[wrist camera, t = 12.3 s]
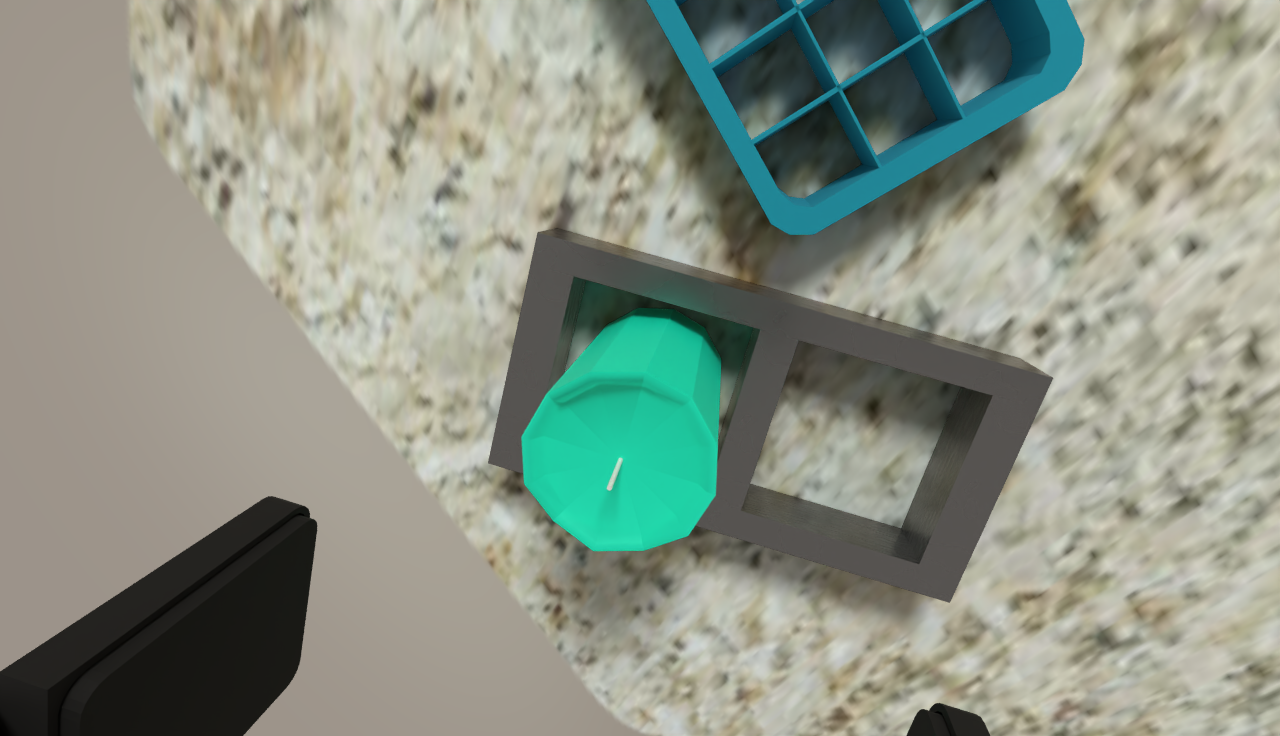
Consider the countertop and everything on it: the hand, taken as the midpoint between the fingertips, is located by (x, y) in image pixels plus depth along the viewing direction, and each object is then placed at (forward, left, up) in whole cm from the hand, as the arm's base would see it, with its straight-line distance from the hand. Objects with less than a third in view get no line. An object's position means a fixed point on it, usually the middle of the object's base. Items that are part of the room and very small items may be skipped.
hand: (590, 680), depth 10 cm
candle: (+1, +1, -21) cm, 21 cm away
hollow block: (-3, +1, -21) cm, 21 cm away
